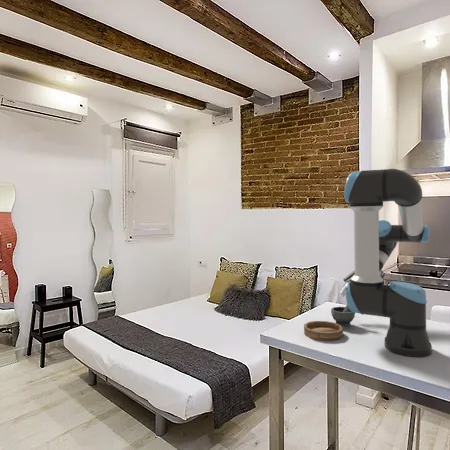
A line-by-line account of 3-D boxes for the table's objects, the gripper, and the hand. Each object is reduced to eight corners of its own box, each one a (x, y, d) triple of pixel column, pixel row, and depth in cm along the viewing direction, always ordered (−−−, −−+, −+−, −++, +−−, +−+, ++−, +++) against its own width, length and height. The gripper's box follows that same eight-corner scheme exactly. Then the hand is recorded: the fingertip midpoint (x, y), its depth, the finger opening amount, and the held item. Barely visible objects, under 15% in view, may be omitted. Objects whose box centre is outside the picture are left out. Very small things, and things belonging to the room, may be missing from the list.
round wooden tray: (350, 337, 139) (350, 330, 139) (317, 342, 134) (317, 335, 134) (327, 326, 153) (327, 319, 153) (297, 330, 148) (297, 323, 148)
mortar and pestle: (339, 329, 148) (339, 301, 147) (327, 323, 157) (327, 296, 156) (362, 327, 151) (362, 299, 150) (349, 320, 160) (349, 294, 159)
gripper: (404, 270, 154) (381, 309, 148) (358, 263, 176) (336, 297, 170) (396, 259, 151) (373, 298, 145) (350, 253, 173) (328, 287, 167)
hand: (353, 298), depth 157 cm, fingers open, 13 cm apart
